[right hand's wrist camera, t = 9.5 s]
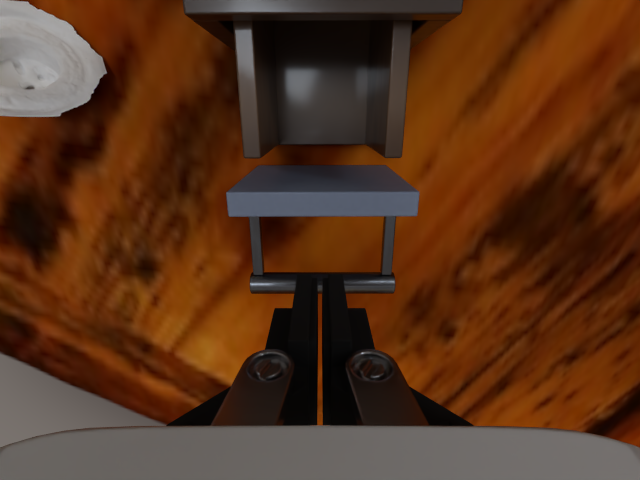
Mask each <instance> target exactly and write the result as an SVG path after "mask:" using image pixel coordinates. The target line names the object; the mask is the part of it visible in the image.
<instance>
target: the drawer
mask: <svg viewBox="0 0 640 480" xmlns="http://www.w3.org/2000/svg"><path fill="white" fill-rule="evenodd" d="M412 21H413V20H289V21H233V28H234V41H235V53H236V66H237V79H238V91H239V104H240V117H241V130H242V142H243V155H244V158H261V157H262V156H264V155H265V154H266V153H268V152H269V151H270V150H272V149H273V148H275V147H276V146H277V145H360V144H366V145H367V146H369V147H370V148H372V149H373V150H375V151H376V152H378V153H379V154H381V155H382V156H383V157H385V158H401V157H402V148H403V136H404V123H405V110H406V97H407V85H408V72H409V59H410V47H411V34H412ZM226 196H227V206H228V215H229V216H230V217H249V223H250V236H251V249H252V262H253V272H252V273H251V276H250V291H251V293H252V294H294V293H295V286H296V279H297V274H312V278H318V294H322V278H328V274H343V279H344V286H345V293H346V294H389V293H394V291H395V276H394V273H393V272H392V260H393V247H394V235H395V222H396V216H417V212H418V202H419V191H417V190H416V189H415V188H414V187H412V186H411V185H410V184H409V183H407V182H406V181H405V180H404V179H402V178H401V177H400V176H399V175H397V174H396V173H395V172H394V171H392V170H391V169H390V168H388V167H387V166H386V165H259V166H257V167H256V168H255V169H254V170H253V171H251V172H250V173H249V174H248V175H247V176H245V177H244V178H243V179H242V180H241V181H239V182H238V183H237V184H236V185H235V186H234V187H232V188H231V189H230V190H229V191H228V192H227V193H226ZM290 216H384V222H383V238H382V253H381V269H380V271H381V272H264V256H263V241H262V226H261V217H290Z"/></svg>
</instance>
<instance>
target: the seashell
mask: <svg viewBox="0 0 640 480" xmlns="http://www.w3.org/2000/svg"><path fill="white" fill-rule="evenodd" d="M104 74H107V72H106V69H105V65H104V62H103V58H102V57H101V56H99V55H98V54H97V53H95V51H94V50H93V49H92V48H90V45H89V44H88V43H87V42H86V41H85V40H83V38H81V37H80V36H79V35H77V34H76V31H74V28H73V27H72V25H70V24H68V22H66V21H63V20H60V19H58V18H56V17H55V16H54V15H51V14H48V13H46V12H44V11H42V10H41V9H39V10H38V9H36V8H35V7H34V6H32V5H30V4H29V2H23V1H10V0H0V116H17V117H53V116H60V115H61V113H63V112H65V111H68V110H70V109H73V108H76V107H78V106H80V105H83V104H84V103H87V101H89V100H90V98H91V94H92V93H94V89H95V88H96V87H97V85H98V84H99V80H100V78H102V77H103V75H104Z"/></svg>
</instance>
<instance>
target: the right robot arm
mask: <svg viewBox="0 0 640 480" xmlns="http://www.w3.org/2000/svg"><path fill="white" fill-rule="evenodd" d="M317 382H318V278H312V274H297V279H296V286H295V293H294V300H293V307H292V308H275V310H274V313H273V318H272V322H271V326H270V330H269V335H268V339H267V343H266V348H265V350H262V351H259V352H256V353H254V354H252V355H251V356H249V357H248V358H247V359H246V360H245V362H244V363H243V365H242V367H241V369H240V370H239V372H238V374H237V376H236V378H235V380H234V382H233V384H232V386H231V387H229V388H228V389H226V390H224V391H223V392H221V393H219V394H218V395H216V396H214V397H213V398H211V399H209V400H208V401H206V402H204V403H203V404H201V405H199V406H198V407H196V408H194V409H193V410H191V411H189V412H188V413H186V414H184V415H183V416H181V417H179V418H178V419H176V420H174V421H173V422H171V423H169V424H168V425H167V426H129V427H102V428H85V429H76V430H67V431H61V432H56V433H51V434H46V435H41V436H36V437H32V438H29V439H26V440H22V441H19V442H16V443H12V444H9V445H6V446H3V447H1V448H0V480H640V447H637V446H634V445H631V444H628V443H625V442H621V441H618V440H614V439H611V438H608V437H604V436H599V435H594V434H589V433H584V432H579V431H573V430H564V429H555V428H538V427H511V426H473V425H472V424H471V423H469V422H467V421H466V420H464V419H462V418H461V417H459V416H457V415H456V414H454V413H452V412H451V411H449V410H447V409H446V408H444V407H442V406H441V405H439V404H437V403H436V402H434V401H432V400H431V399H429V398H427V397H426V396H424V395H422V394H421V393H419V392H417V391H416V390H414V389H412V388H411V387H409V386H408V384H407V382H406V380H405V378H404V376H403V374H402V372H401V370H400V369H399V367H398V365H397V363H396V362H395V360H394V359H393V358H392V357H391V356H389V355H388V354H386V353H384V352H381V351H378V350H375V348H374V343H373V339H372V335H371V330H370V326H369V322H368V318H367V313H366V310H365V308H348V307H347V300H346V293H345V286H344V279H343V274H328V278H322V382H323V425H330V426H310V425H317Z"/></svg>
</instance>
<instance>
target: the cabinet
mask: <svg viewBox="0 0 640 480" xmlns="http://www.w3.org/2000/svg"><path fill="white" fill-rule="evenodd" d="M462 6H463V0H183V7H184V13H185V15H187V16H188V17H189V18H191V19H192V20H194V22H196V23H197V24H198V25H200V26H201V27H202V28H204V29H205V30H207V31H208V32H209V33H211V34H212V35H213V36H215V37H216V38H218V39H219V40H220V41H222V42H223V43H224V44H226V45H227V46H229V47H230V48H231V49H233V50H234V51H235V41H234V28H233V21H289V20H413V21H412V34H411V47H410V49H412V48H413V47H414V46H416V45H417V44H419V43H420V42H421V41H423V40H424V39H426V38H427V37H428V36H430V35H431V34H433V33H434V32H435V31H437V30H438V29H440V28H441V27H443V26H444V25H445V24H447V23H448V22H450V21H451V20H452V19H454V18H455V17H457V16H458V15H459V14H461V12H462Z"/></svg>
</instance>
